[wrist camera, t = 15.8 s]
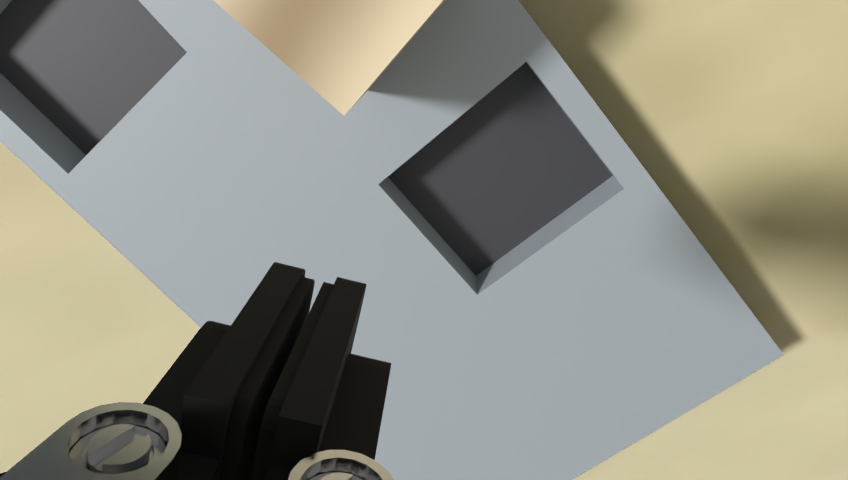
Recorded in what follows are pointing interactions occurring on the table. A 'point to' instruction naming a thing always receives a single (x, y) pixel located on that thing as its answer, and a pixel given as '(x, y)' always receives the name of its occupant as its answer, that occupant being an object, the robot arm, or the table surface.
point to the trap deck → (394, 219)
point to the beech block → (334, 38)
